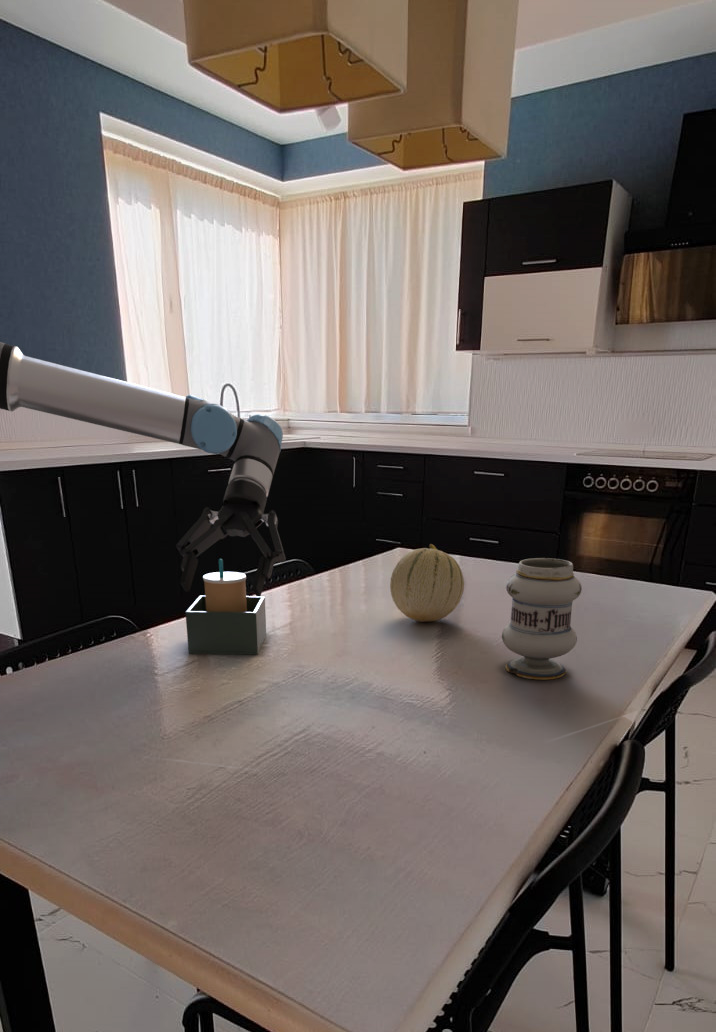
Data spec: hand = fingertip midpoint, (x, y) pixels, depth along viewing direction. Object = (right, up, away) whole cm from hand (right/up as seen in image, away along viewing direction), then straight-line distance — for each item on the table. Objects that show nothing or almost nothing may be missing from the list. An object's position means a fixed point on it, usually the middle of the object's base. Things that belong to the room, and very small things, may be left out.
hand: (220, 590), depth 134 cm
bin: (0, -9, +6) cm, 11 cm away
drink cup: (0, -8, +6) cm, 10 cm away
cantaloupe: (+38, -2, +23) cm, 45 cm away
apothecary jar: (+54, -15, -6) cm, 56 cm away
